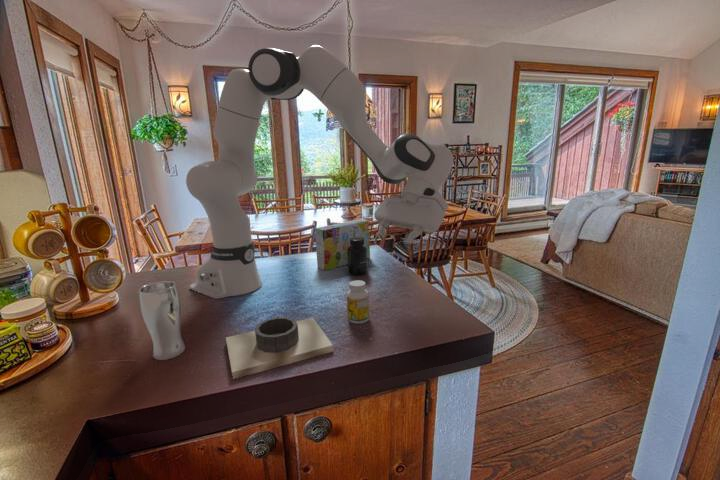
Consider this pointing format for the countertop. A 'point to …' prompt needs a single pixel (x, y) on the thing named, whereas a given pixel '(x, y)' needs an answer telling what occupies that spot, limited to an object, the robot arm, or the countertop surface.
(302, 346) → the collar stand
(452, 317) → the countertop surface
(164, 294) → the beer glass
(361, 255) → the supplement bottle
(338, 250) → the snack box
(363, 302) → the supplement bottle
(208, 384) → the countertop surface
